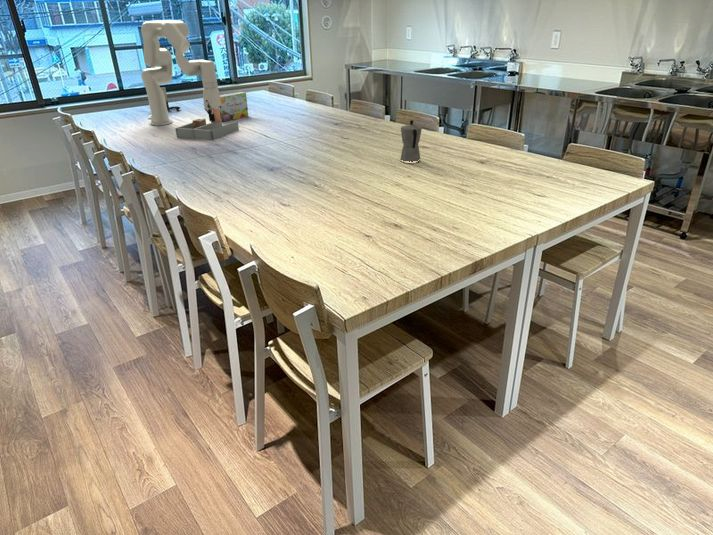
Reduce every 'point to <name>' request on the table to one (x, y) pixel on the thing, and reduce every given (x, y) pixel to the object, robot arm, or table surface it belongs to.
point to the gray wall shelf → (206, 130)
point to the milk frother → (167, 101)
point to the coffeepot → (410, 142)
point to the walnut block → (198, 123)
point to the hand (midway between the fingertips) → (215, 119)
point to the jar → (216, 115)
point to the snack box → (234, 106)
